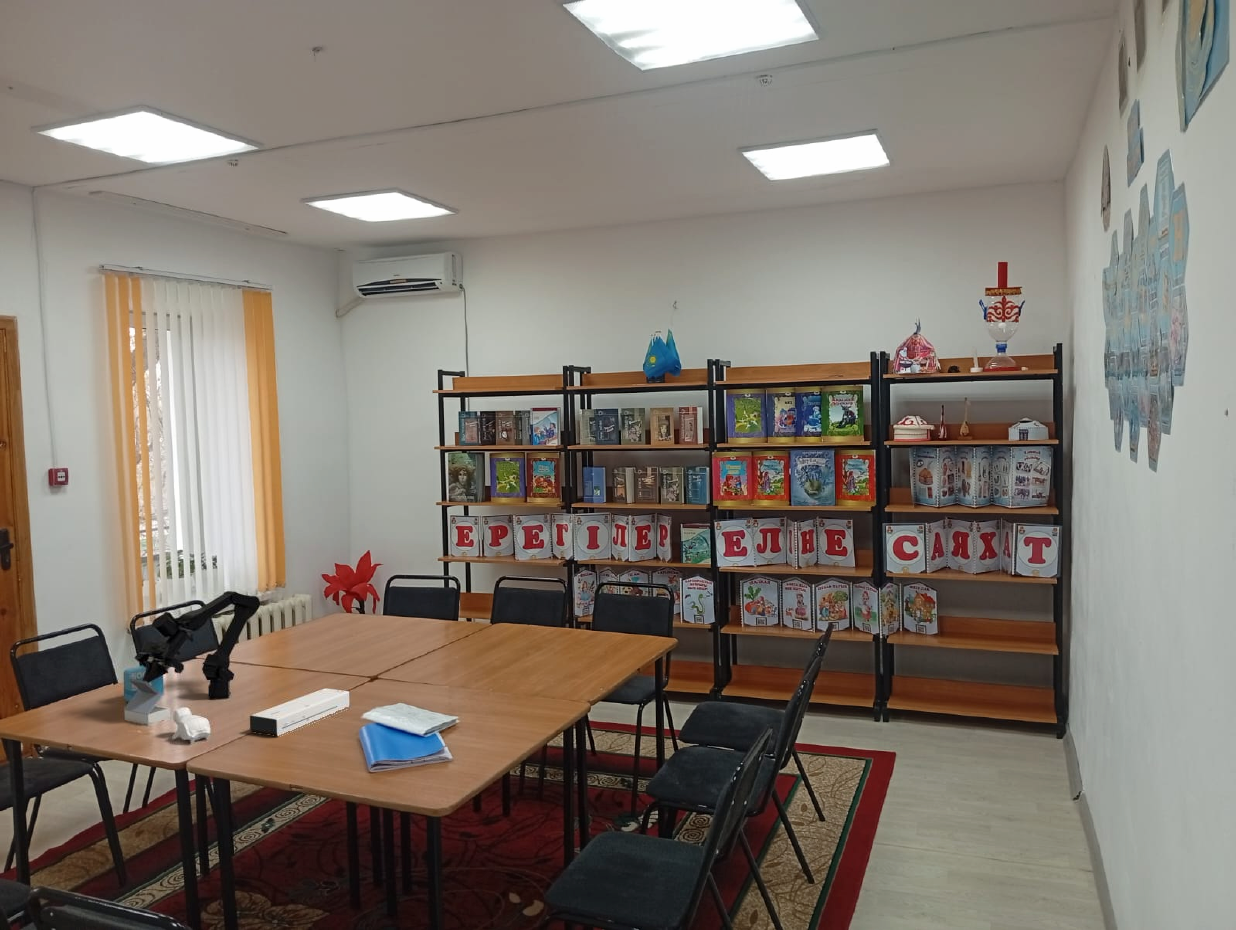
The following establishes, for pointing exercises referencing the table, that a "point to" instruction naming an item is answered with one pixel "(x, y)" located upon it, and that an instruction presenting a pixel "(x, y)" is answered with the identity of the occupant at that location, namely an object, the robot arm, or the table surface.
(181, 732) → the white animal figurine
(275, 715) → the laminator
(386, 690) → the table surface
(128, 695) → the data package
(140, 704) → the carton lid
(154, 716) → the carton
